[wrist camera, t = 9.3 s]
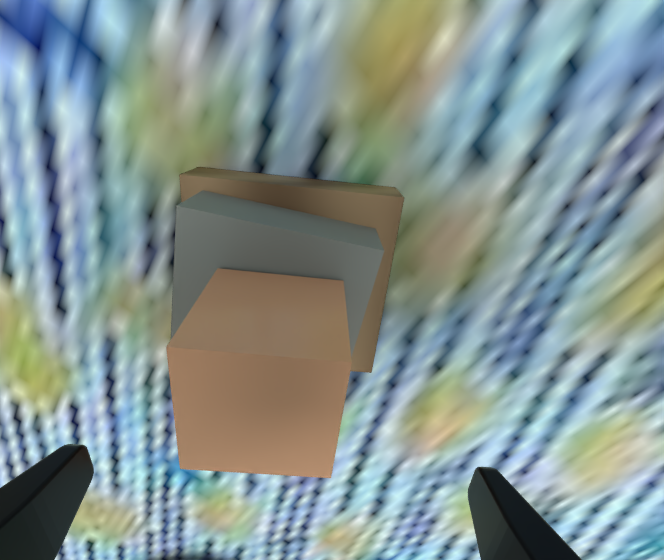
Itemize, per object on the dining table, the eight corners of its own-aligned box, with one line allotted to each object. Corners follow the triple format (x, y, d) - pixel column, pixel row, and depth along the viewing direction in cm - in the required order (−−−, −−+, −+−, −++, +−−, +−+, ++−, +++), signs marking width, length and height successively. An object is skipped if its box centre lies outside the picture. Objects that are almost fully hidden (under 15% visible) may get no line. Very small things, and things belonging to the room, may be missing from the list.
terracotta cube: (343, 280, 14) (351, 362, 10) (329, 375, 16) (330, 478, 12) (217, 268, 14) (166, 347, 9) (220, 367, 16) (179, 468, 12)
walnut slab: (393, 185, 19) (404, 197, 16) (366, 341, 23) (371, 372, 20) (202, 165, 18) (179, 174, 15) (210, 328, 22) (194, 358, 20)
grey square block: (375, 228, 17) (384, 250, 14) (336, 362, 20) (337, 402, 17) (203, 190, 16) (176, 205, 13) (192, 336, 19) (169, 373, 16)
